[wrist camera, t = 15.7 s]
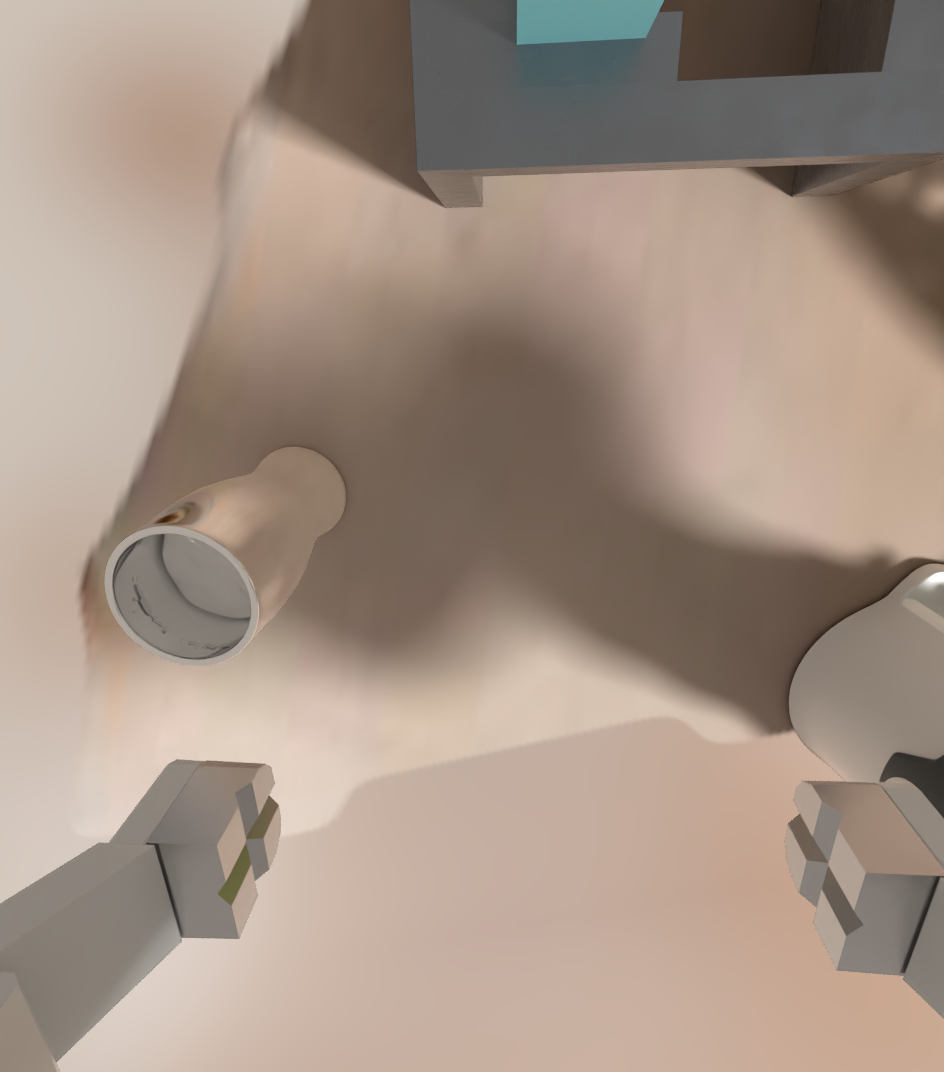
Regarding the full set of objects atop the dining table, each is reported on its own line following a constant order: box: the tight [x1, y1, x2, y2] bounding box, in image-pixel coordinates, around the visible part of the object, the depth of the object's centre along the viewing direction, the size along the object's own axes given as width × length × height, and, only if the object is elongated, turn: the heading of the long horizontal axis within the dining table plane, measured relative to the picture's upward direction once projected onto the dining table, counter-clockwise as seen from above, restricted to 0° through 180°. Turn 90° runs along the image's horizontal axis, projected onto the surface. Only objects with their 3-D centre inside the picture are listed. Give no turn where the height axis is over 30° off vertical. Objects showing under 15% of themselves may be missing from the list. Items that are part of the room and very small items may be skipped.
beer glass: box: [104, 447, 346, 666], centre depth 32 cm, size 7×7×15 cm
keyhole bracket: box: [409, 0, 944, 208], centre depth 25 cm, size 20×12×10 cm, turn 91°
